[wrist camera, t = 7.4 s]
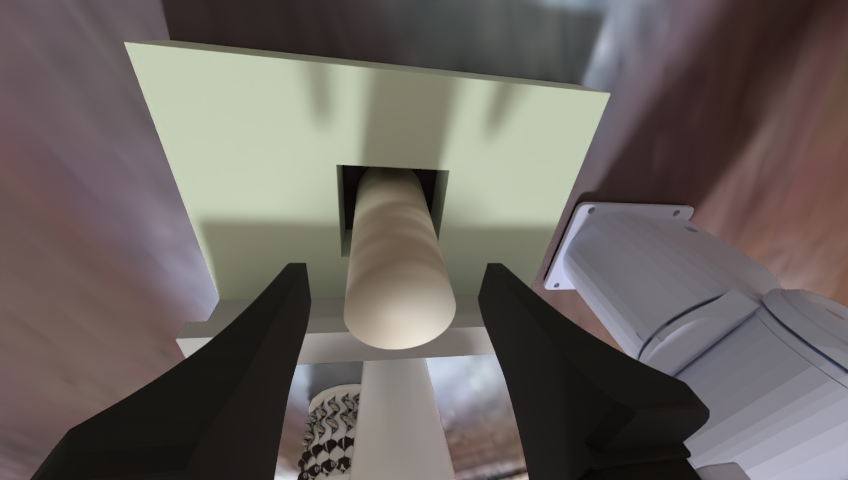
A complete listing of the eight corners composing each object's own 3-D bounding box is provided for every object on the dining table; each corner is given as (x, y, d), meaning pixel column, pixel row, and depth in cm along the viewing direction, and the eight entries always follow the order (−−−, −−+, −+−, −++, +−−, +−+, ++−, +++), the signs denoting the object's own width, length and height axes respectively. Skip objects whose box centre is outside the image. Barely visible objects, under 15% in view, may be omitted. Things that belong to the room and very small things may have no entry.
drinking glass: (343, 331, 26) (315, 606, 13) (421, 310, 25) (464, 569, 13) (370, 373, 30) (367, 616, 17) (437, 356, 29) (482, 588, 17)
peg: (424, 163, 18) (465, 271, 10) (418, 220, 20) (446, 347, 12) (356, 159, 18) (341, 271, 9) (357, 219, 20) (345, 351, 12)
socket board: (576, 84, 17) (679, 112, 11) (510, 276, 25) (551, 350, 19) (169, 39, 13) (18, 47, 8) (241, 278, 21) (192, 370, 15)
